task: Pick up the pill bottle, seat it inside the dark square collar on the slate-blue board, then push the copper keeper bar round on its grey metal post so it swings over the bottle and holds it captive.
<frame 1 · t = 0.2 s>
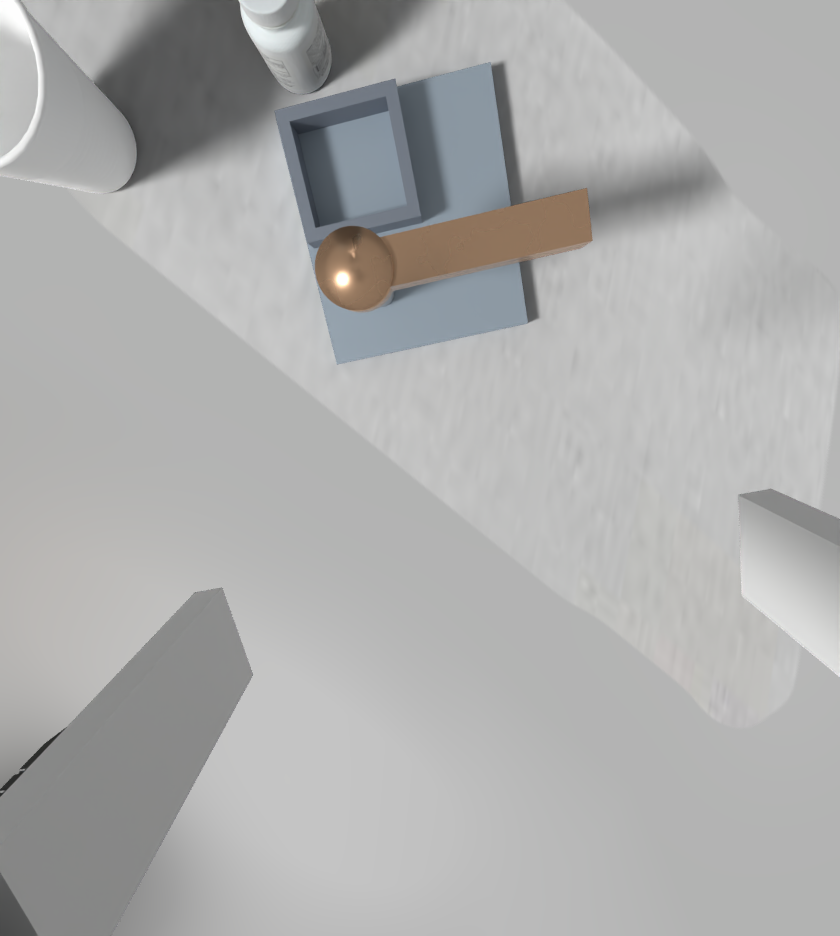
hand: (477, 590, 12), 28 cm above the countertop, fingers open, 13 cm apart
board: (408, 228, 35), on the countertop
pill bottle: (301, 60, 32), on the countertop
cup: (100, 149, 34), on the countertop
keeper: (449, 250, 24), point 12 cm above the countertop, hinge at 0.0°
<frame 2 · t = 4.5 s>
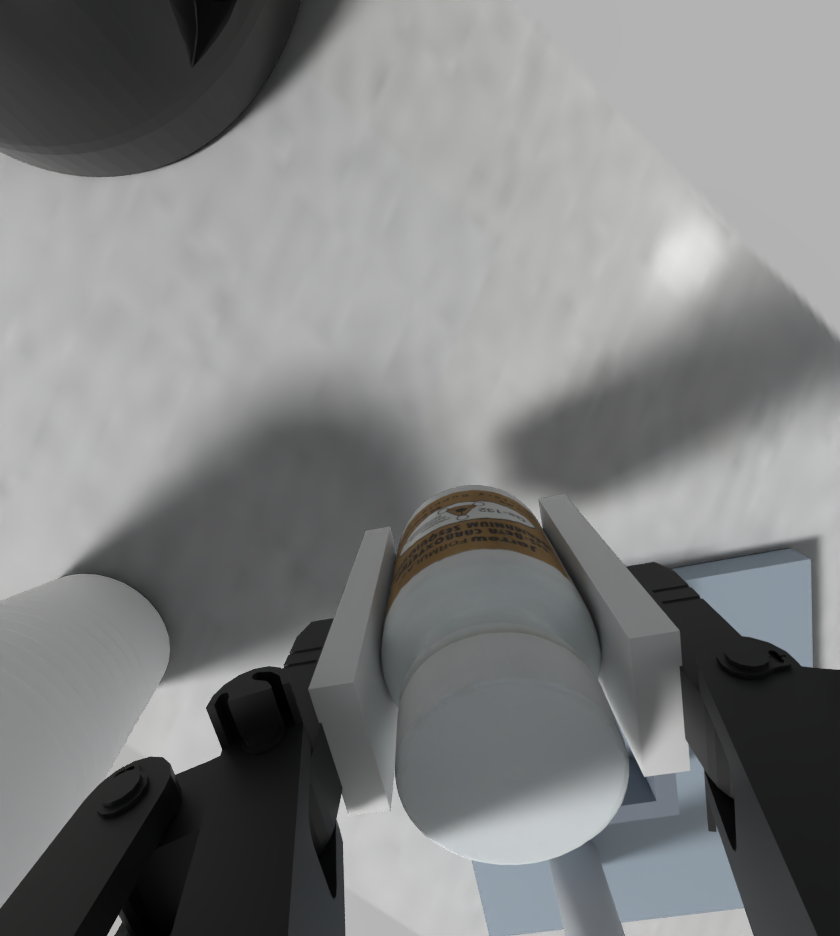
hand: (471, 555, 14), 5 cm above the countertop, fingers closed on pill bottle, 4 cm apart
board: (621, 752, 21), on the countertop
pill bottle: (470, 547, 14), point 4 cm above the countertop, touching gripper
cup: (108, 631, 20), on the countertop
when the fingers open (4 cm above the countertop, at t = 8.0 s): pill bottle drops 2 cm, resting on board.
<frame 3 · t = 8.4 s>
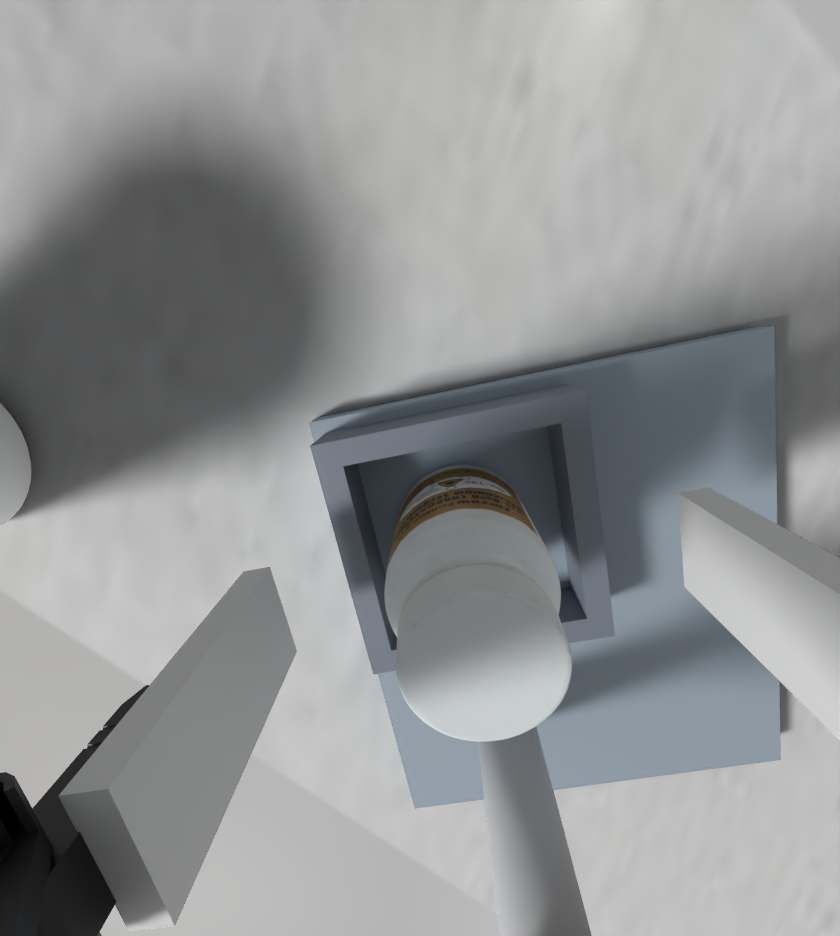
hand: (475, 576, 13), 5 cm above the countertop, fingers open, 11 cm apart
board: (558, 592, 18), on the countertop
pill bottle: (460, 519, 17), point 1 cm above the countertop, touching board
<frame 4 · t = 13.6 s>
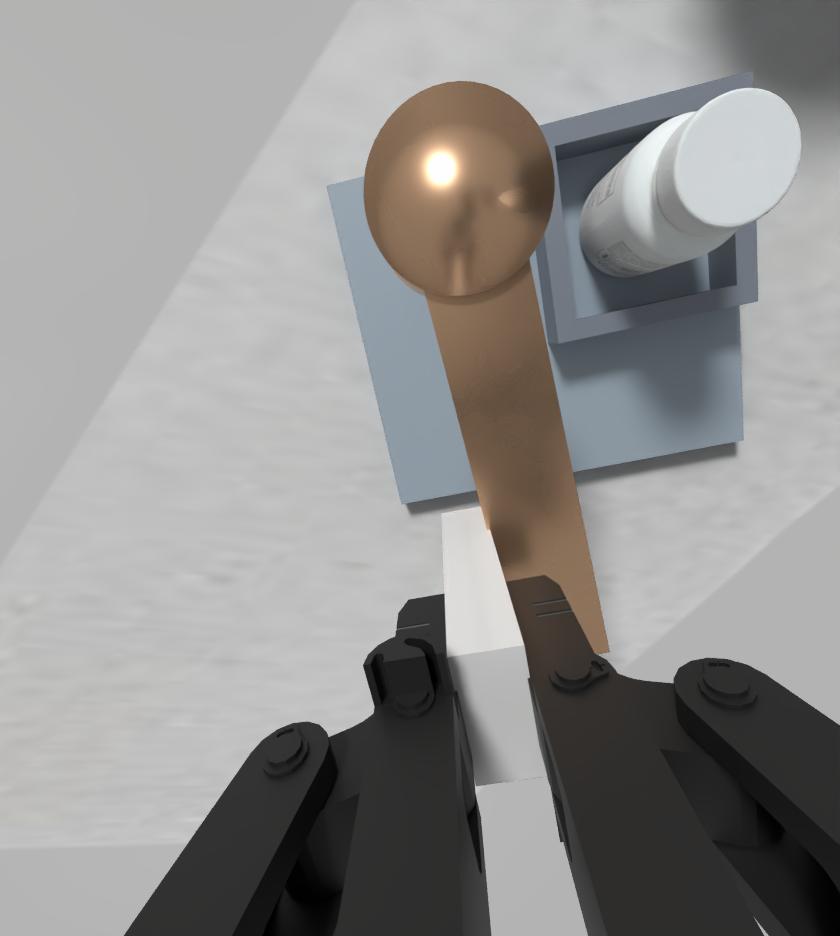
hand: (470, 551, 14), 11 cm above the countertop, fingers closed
board: (541, 320, 22), on the countertop
pill bottle: (626, 225, 20), point 1 cm above the countertop, touching board
keeper: (504, 414, 12), point 12 cm above the countertop, hinge at 3.8°, touching gripper
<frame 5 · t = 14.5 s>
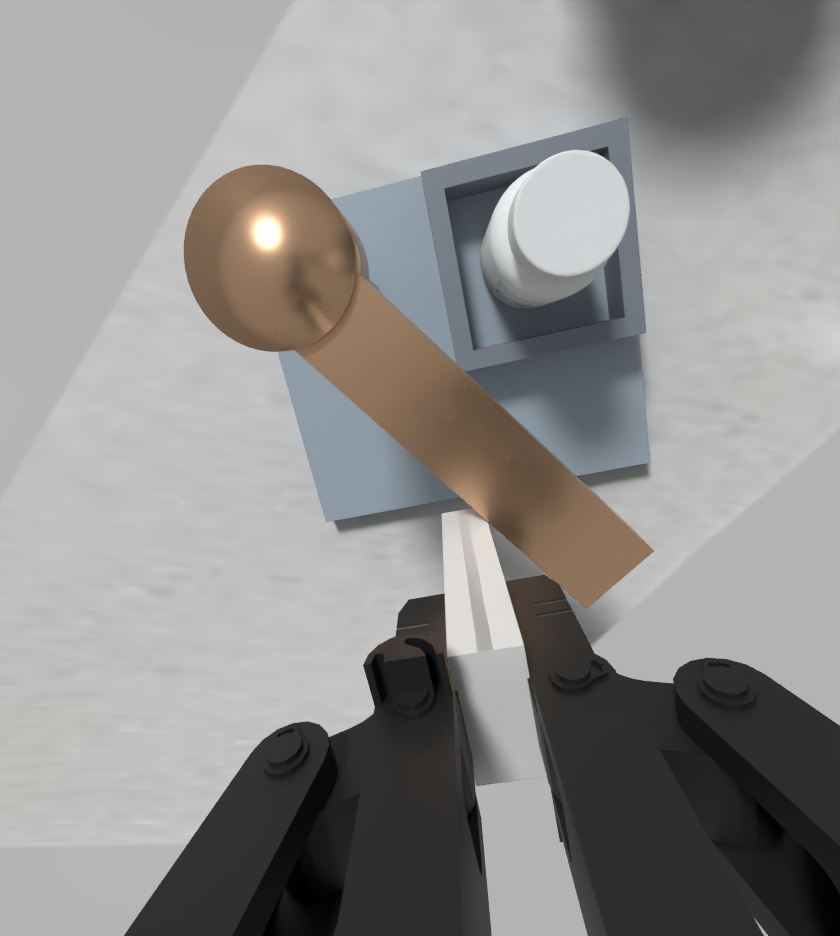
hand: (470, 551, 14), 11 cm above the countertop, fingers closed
board: (454, 347, 23), on the countertop
pill bottle: (527, 258, 21), point 1 cm above the countertop, touching board
keeper: (429, 402, 13), point 12 cm above the countertop, hinge at 36.0°, touching gripper
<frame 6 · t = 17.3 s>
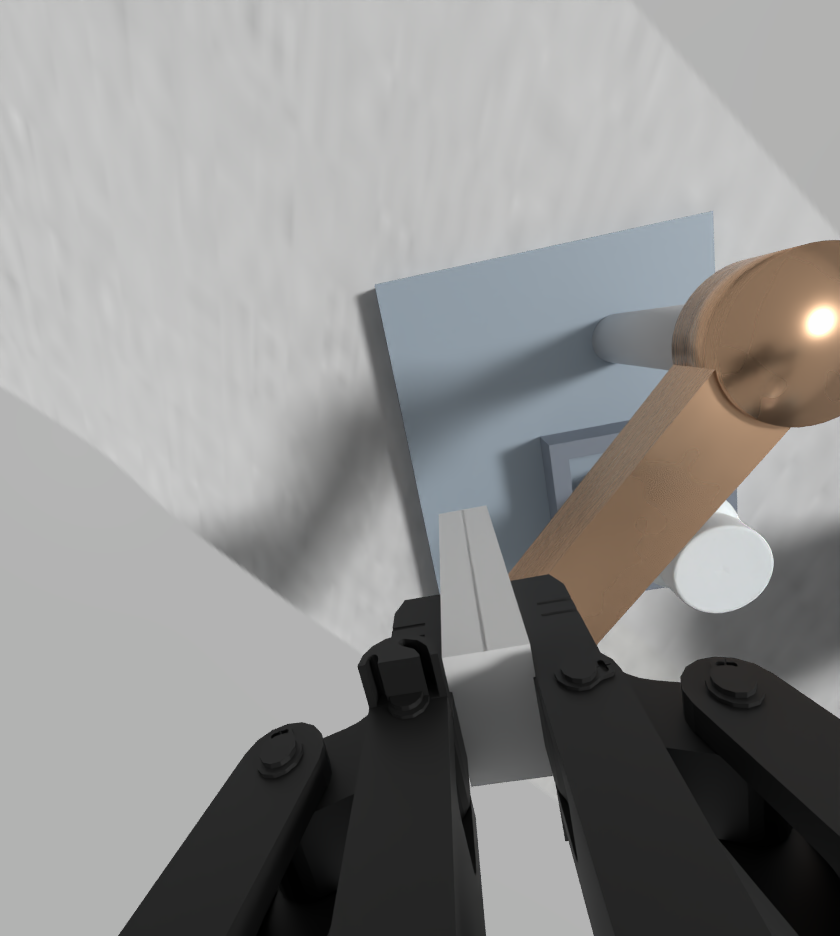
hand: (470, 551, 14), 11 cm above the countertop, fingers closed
board: (556, 429, 24), on the countertop
pill bottle: (631, 496, 24), point 1 cm above the countertop, touching board
keeper: (642, 499, 13), point 12 cm above the countertop, hinge at 45.8°, touching gripper
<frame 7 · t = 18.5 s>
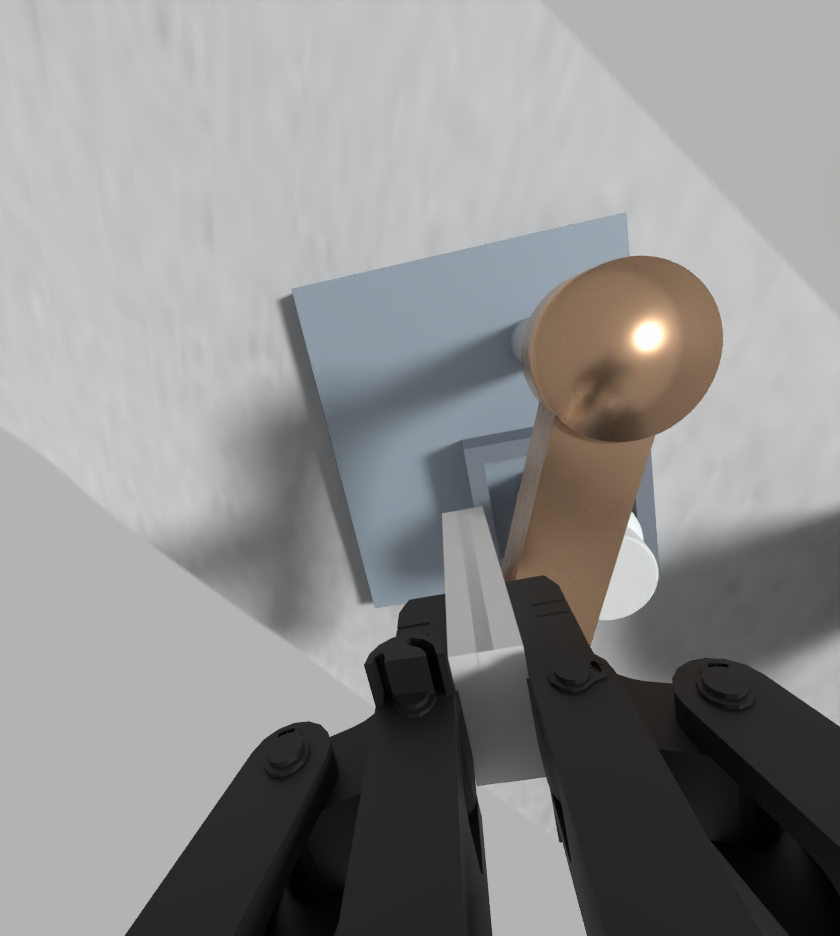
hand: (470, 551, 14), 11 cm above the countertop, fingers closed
board: (482, 432, 24), on the countertop
pill bottle: (557, 499, 24), point 1 cm above the countertop, touching board
keeper: (562, 537, 13), point 12 cm above the countertop, hinge at 69.8°, touching gripper
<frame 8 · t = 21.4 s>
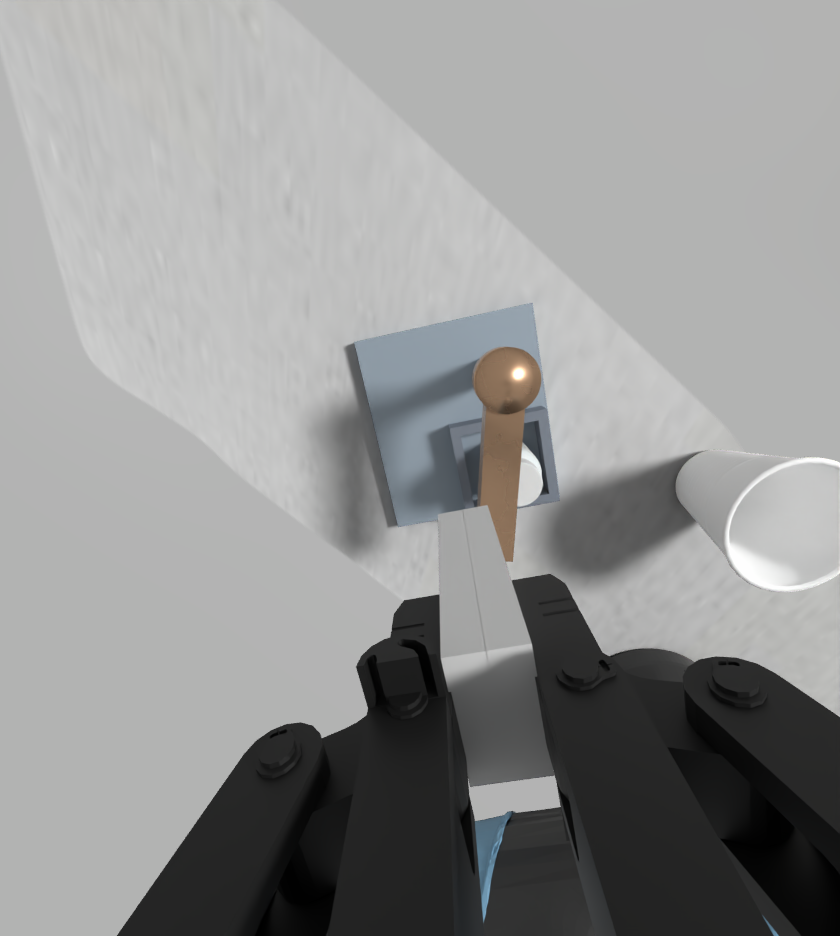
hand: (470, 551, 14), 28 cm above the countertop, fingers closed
board: (460, 420, 42), on the countertop
pill bottle: (503, 458, 42), point 1 cm above the countertop, touching board
cup: (706, 480, 43), on the countertop
keeper: (500, 457, 31), point 12 cm above the countertop, hinge at 76.9°
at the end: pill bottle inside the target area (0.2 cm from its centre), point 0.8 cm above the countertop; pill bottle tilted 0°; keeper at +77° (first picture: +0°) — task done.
